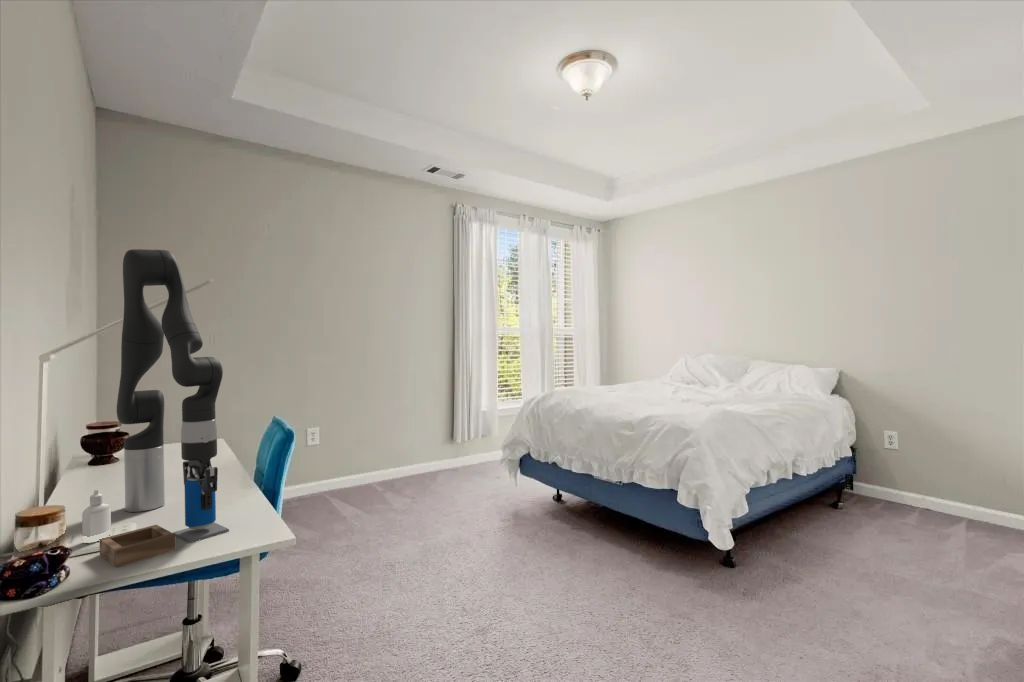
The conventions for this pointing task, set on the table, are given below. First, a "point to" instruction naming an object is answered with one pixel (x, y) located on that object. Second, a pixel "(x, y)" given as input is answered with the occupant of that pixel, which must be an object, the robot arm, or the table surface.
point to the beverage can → (197, 507)
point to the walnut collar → (137, 545)
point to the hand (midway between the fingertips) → (200, 506)
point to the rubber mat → (200, 532)
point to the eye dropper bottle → (96, 516)
